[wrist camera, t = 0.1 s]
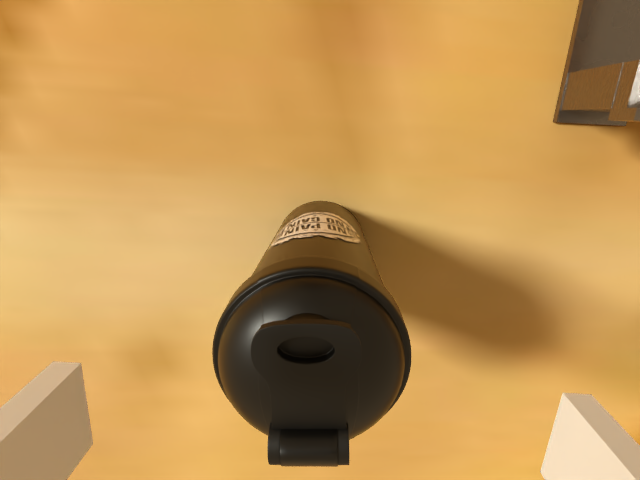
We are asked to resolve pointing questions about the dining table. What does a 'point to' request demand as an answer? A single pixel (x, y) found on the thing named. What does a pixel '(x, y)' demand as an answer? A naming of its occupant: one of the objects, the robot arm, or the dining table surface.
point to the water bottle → (313, 340)
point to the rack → (602, 65)
